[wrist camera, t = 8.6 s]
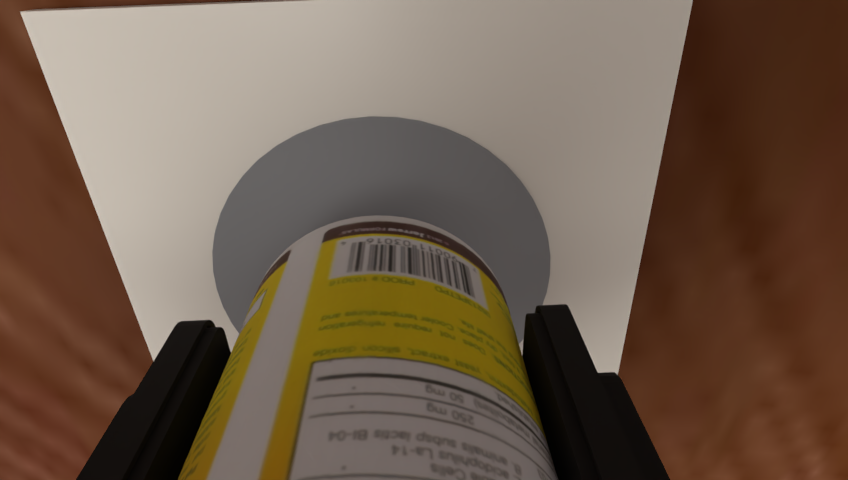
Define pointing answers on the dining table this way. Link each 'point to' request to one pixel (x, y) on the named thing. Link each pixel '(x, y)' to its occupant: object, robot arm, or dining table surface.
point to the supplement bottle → (374, 367)
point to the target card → (369, 140)
